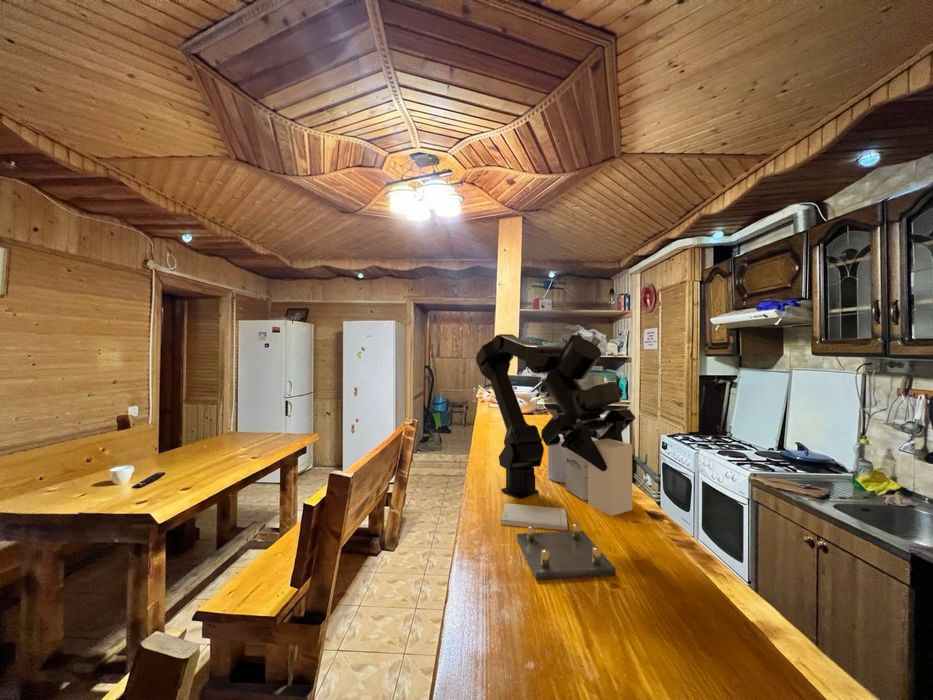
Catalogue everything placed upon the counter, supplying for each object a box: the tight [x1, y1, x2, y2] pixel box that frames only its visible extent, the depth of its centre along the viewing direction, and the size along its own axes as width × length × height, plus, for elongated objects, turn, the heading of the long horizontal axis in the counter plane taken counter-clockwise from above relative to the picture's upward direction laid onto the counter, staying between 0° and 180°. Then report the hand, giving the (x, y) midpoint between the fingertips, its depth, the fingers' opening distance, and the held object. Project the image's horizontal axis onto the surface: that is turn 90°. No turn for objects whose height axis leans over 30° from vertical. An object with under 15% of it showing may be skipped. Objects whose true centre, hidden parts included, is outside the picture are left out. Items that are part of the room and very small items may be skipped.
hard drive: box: [500, 503, 569, 531], centre depth 75 cm, size 2×8×12 cm
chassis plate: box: [516, 522, 617, 581], centre depth 61 cm, size 12×12×3 cm
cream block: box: [587, 439, 633, 517], centre depth 64 cm, size 5×5×11 cm
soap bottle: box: [547, 410, 566, 484], centre depth 99 cm, size 9×9×25 cm
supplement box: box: [565, 436, 599, 501], centre depth 88 cm, size 7×7×13 cm
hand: (616, 467), depth 63 cm, fingers closed on cream block, 5 cm apart
